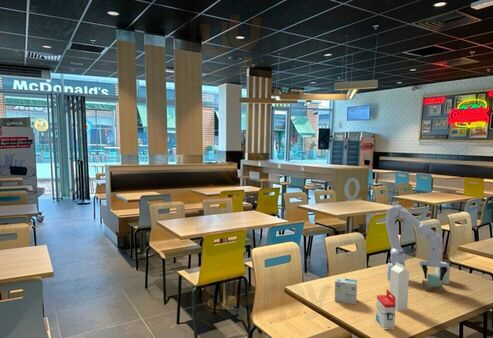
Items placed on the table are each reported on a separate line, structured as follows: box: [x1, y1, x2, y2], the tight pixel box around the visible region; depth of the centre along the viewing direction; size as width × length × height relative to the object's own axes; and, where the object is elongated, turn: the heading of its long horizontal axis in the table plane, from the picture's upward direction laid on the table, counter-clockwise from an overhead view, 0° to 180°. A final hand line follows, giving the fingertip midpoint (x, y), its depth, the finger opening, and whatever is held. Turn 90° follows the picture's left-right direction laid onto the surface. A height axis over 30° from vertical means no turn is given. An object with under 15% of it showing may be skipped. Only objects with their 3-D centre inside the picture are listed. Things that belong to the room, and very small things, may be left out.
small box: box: [434, 261, 451, 285], centre depth 198 cm, size 8×6×10 cm
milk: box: [389, 262, 410, 311], centre depth 166 cm, size 6×6×22 cm
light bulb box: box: [334, 276, 358, 305], centre depth 173 cm, size 11×7×11 cm, turn 71°
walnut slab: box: [421, 279, 445, 294], centre depth 188 cm, size 9×9×3 cm
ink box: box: [375, 289, 396, 330], centre depth 150 cm, size 8×5×15 cm, turn 3°
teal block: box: [426, 273, 440, 287], centre depth 187 cm, size 5×5×5 cm
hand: (433, 279), depth 188 cm, fingers open, 7 cm apart
